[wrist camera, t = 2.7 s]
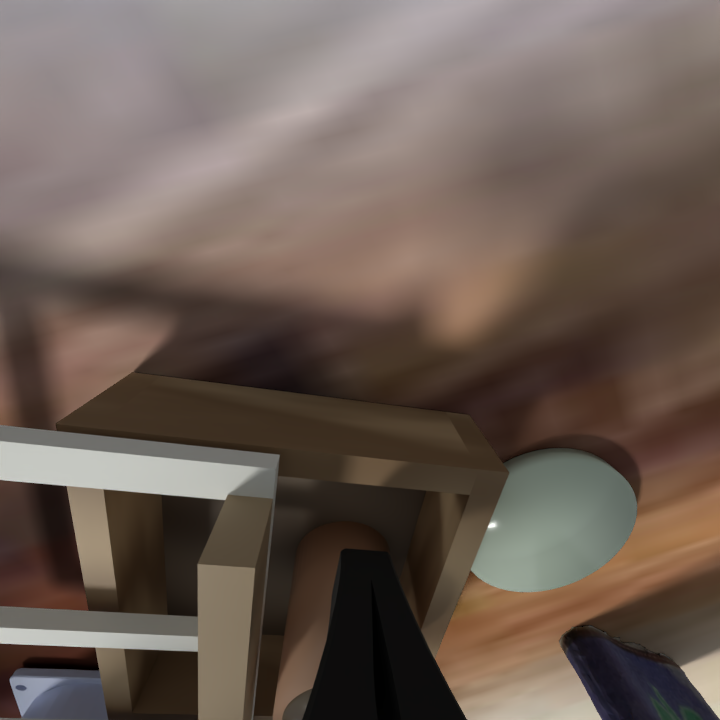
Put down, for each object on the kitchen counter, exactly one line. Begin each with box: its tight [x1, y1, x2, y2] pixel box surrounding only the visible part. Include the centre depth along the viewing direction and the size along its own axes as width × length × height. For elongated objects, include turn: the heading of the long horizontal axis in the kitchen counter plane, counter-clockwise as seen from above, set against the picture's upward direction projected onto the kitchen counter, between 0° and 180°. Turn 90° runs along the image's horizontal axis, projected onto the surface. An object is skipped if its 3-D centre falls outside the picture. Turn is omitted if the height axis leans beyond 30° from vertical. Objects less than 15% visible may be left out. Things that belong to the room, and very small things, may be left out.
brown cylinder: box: [273, 521, 390, 720], centre depth 13 cm, size 4×4×6 cm
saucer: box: [471, 448, 637, 592], centre depth 15 cm, size 8×8×1 cm
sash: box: [0, 425, 280, 720], centre depth 10 cm, size 15×13×3 cm
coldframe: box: [56, 372, 509, 720], centre depth 14 cm, size 15×13×4 cm
